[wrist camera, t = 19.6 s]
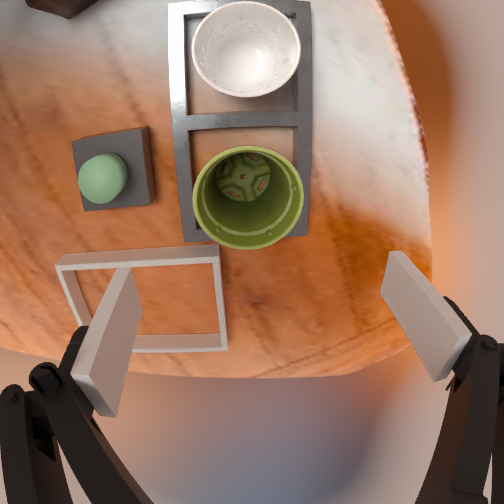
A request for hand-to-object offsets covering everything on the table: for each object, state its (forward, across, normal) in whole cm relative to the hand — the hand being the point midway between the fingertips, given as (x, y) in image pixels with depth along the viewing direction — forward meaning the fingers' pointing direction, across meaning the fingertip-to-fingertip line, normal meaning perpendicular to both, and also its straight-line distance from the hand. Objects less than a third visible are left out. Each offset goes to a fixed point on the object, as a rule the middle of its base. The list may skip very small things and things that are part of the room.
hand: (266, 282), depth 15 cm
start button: (+19, -14, +2) cm, 24 cm away
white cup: (+21, 0, +12) cm, 24 cm away
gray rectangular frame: (+21, -14, -16) cm, 30 cm away
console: (+21, -14, +2) cm, 25 cm away
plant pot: (+21, 0, 0) cm, 21 cm away
